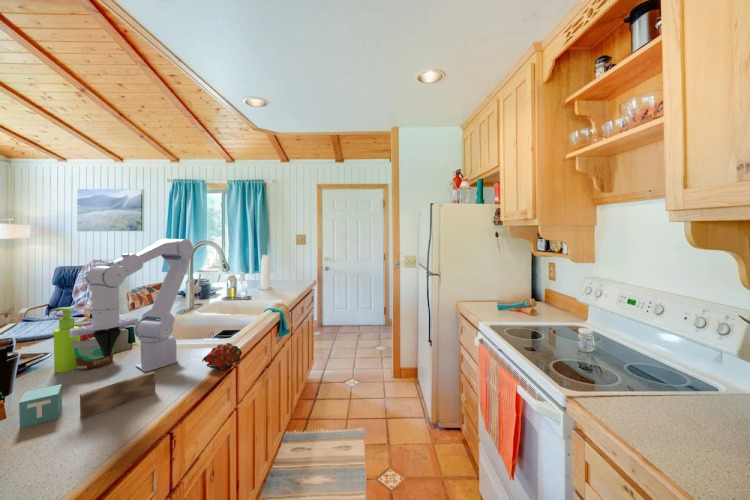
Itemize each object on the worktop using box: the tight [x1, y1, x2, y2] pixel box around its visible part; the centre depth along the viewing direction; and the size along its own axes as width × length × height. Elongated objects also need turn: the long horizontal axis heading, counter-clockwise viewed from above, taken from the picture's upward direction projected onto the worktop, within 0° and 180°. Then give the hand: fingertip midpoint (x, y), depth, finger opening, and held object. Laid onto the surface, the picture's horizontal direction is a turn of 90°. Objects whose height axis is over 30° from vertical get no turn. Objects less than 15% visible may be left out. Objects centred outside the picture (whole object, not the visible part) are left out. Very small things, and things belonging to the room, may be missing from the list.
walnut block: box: [79, 370, 156, 420], centre depth 77 cm, size 15×2×6 cm, turn 148°
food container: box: [71, 337, 115, 372], centre depth 99 cm, size 12×6×10 cm, turn 168°
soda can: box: [74, 320, 94, 341], centre depth 107 cm, size 7×7×12 cm
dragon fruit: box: [201, 342, 243, 371], centre depth 100 cm, size 8×8×12 cm
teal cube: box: [18, 383, 63, 429], centre depth 71 cm, size 6×6×6 cm
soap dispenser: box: [50, 306, 80, 374], centre depth 96 cm, size 6×7×20 cm
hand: (106, 355), depth 85 cm, fingers closed
